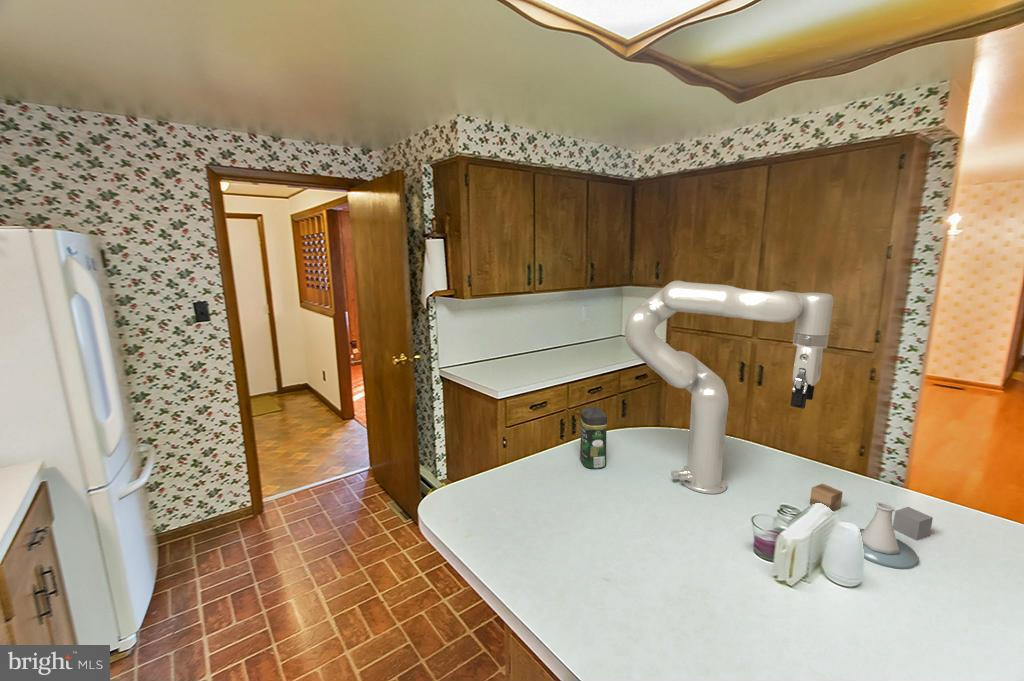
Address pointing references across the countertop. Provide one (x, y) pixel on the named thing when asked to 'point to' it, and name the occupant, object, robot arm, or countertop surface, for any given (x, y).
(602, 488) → the countertop surface
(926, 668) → the countertop surface
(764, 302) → the robot arm
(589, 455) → the coffee jar
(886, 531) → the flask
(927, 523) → the charcoal block
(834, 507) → the walnut block
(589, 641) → the countertop surface
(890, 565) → the slate plate
